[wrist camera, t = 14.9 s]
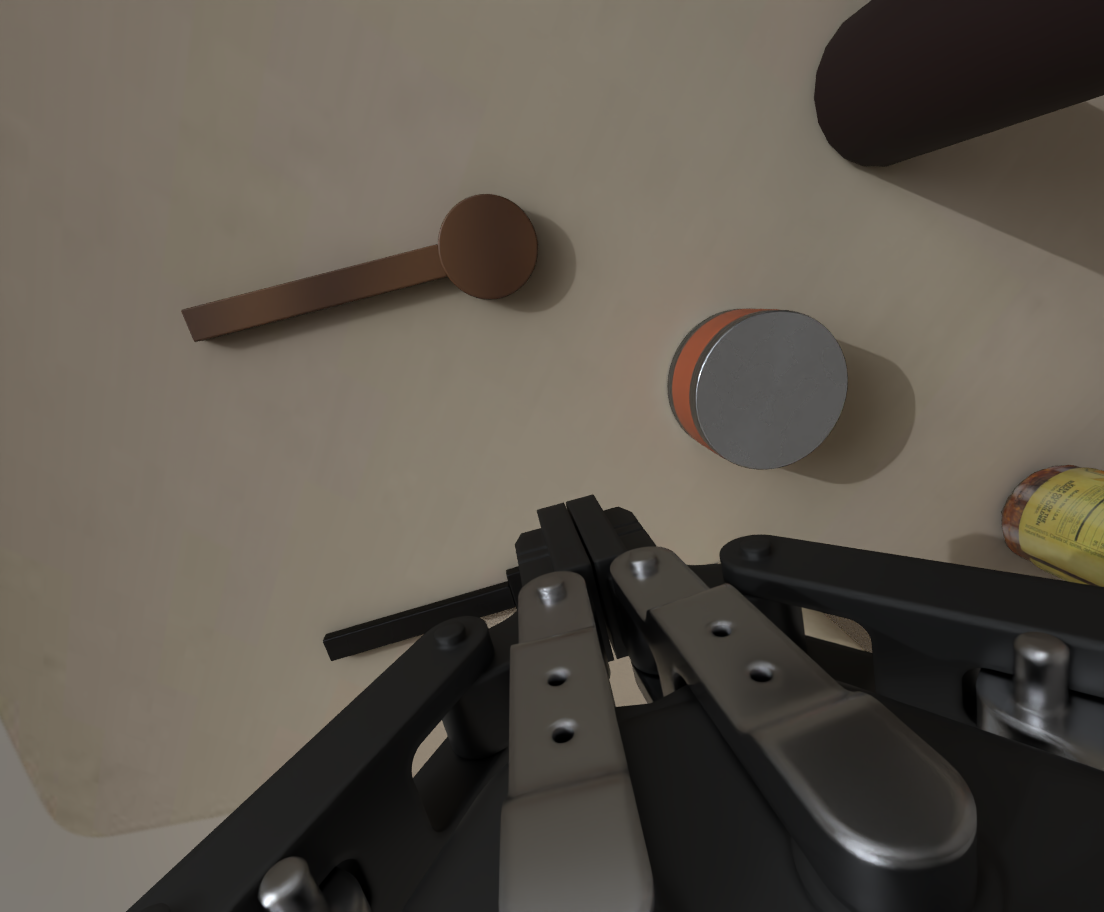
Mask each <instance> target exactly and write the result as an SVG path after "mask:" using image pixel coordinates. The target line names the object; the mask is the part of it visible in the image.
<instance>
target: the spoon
mask: <svg viewBox="0 0 1104 912" xmlns="http://www.w3.org/2000/svg"><path fill="white" fill-rule="evenodd" d="M537 255H538V242H537V237H536V233H535V230H534V227H533V225H532V223H531V221H530V219H529V218H528V216H527V215H526V214H525V212H524V211H523V210H522V209H521V208H520V207H519V206H517V205H516V204H515V203H513V202H512V201H510V200H508V199H506V198H504V197H501V196H497V195H492V194H480V195H474V196H471V197H468V198H466V199H464V200H462V201H461V202H459V203H458V204H456V205H455V206H454V207H453V208H452V209H451V210H450V211H449V213H448V214H447V216H446V217H445V219H444V221H443V223H442V225H441V228H440V232H439V237H438V245H437V244H436V245H432V246H428V247H424V248H420V249H417V250H413V251H409V252H405V253H401V254H397V255H393V256H389V257H385V258H382V259H378V260H374V261H370V262H366V263H362V264H358V265H354V266H350V267H347V268H343V269H339V270H335V271H331V272H327V273H323V274H319V275H315V276H311V277H308V278H304V279H300V280H296V281H292V282H288V283H284V284H280V285H276V286H273V287H269V288H265V289H261V290H257V291H253V292H249V293H245V294H241V295H238V296H234V297H230V298H226V299H222V300H218V301H214V302H210V303H206V304H203V305H199V306H195V307H191V308H187V309H183V310H181V312H182V314H183V316H184V319H185V321H186V323H187V326H188V328H189V331H190V333H191V335H192V338H193V340H194V341H195V342H197V341H203V340H207V339H211V338H215V337H219V336H223V335H226V334H230V333H234V332H238V331H242V330H246V329H249V328H253V327H257V326H261V325H265V324H269V323H272V322H276V321H280V320H284V319H288V318H292V317H295V316H299V315H303V314H307V313H311V312H315V311H319V310H322V309H326V308H330V307H334V306H338V305H342V304H345V303H349V302H353V301H357V300H361V299H365V298H368V297H372V296H376V295H380V294H384V293H388V292H391V291H395V290H399V289H403V288H407V287H411V286H415V285H418V284H422V283H426V282H430V281H434V280H438V279H441V278H445V277H447V276H448V277H449V279H450V280H451V281H452V282H453V283H454V284H455V285H456V286H457V287H458V288H459V289H460V290H462V291H463V292H465V293H467V294H469V295H471V296H473V297H476V298H481V299H498V298H503V297H506V296H508V295H510V294H512V293H514V292H516V291H517V290H519V289H520V288H521V287H522V286H523V285H524V284H525V283H526V282H527V280H528V279H529V277H530V276H531V274H532V272H533V270H534V267H535V264H536V261H537Z"/></svg>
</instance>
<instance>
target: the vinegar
mask: <svg viewBox="0 0 1104 912" xmlns="http://www.w3.org/2000/svg"><path fill="white" fill-rule="evenodd" d="M1102 95H1104V0H871V1H870V2H869V3H868V4H866V5H865V6H864V7H862V8H861V9H860V10H858V11H857V12H856V13H855V14H853V15H852V16H851V17H850V18H848V19H847V20H846V21H845V22H843V23H842V25H841V26H840V28H839V29H838V30H837V32H836V33H835V35H834V36H833V38H832V39H831V40H830V42H829V43H828V45H827V46H826V48H825V50H824V53H823V56H822V59H821V61H820V64H819V67H818V70H817V73H816V83H815V94H814V101H815V107H816V112H817V118H818V123H819V125H820V127H821V129H822V131H823V133H824V135H825V137H826V139H827V141H828V143H829V144H830V145H831V146H832V147H833V148H834V149H835V150H836V151H837V152H838V153H839V154H840V155H841V156H842V157H844V158H845V159H848V160H850V161H852V162H855V163H857V164H860V165H862V166H889V165H892V164H895V163H898V162H901V161H904V160H907V159H910V158H913V157H916V156H919V155H923V154H926V153H929V152H932V151H935V150H938V149H941V148H944V147H947V146H950V145H953V144H956V143H959V142H962V141H965V140H968V139H971V138H974V137H977V136H980V135H983V134H987V133H990V132H993V131H996V130H999V129H1002V128H1005V127H1008V126H1011V125H1014V124H1017V123H1020V122H1023V121H1026V120H1029V119H1032V118H1035V117H1038V116H1041V115H1044V114H1047V113H1051V112H1054V111H1057V110H1060V109H1063V108H1066V107H1069V106H1072V105H1075V104H1078V103H1081V102H1084V101H1087V100H1090V99H1093V98H1096V97H1099V96H1102Z"/></svg>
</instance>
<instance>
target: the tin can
mask: <svg viewBox="0 0 1104 912" xmlns="http://www.w3.org/2000/svg"><path fill="white" fill-rule="evenodd" d="M847 385H848V375H847V367H846V362H845V358H844V355H843V353H842V350H841V348H840V346H839V344H838V342H837V340H836V339H835V338H834V336H833V335H832V334H831V332H830V331H829V330H828V329H827V328H826V327H825V326H824V325H822V324H821V323H819V322H818V321H817V320H815V319H813V318H811V317H809V316H808V315H805V314H802V313H799V312H795V311H789V310H777V309H733V310H727V311H723V312H720V313H718V314H715V315H713V316H711V317H709V318H707V319H705V320H704V321H702V322H701V323H700V324H698V325H697V326H696V327H695V328H693V329H692V330H691V331H690V332H689V333H688V335H687V336H686V337H685V338H684V339H683V341H682V342H681V344H680V345H679V347H678V349H677V351H676V353H675V355H674V357H673V360H672V363H671V365H670V370H669V374H668V385H667V386H668V398H669V403H670V406H671V409H672V412H673V414H674V416H675V419H676V420H677V422H678V423H679V425H680V426H681V428H682V429H683V430H684V431H685V432H686V433H687V434H688V435H689V436H691V437H692V438H693V439H695V440H696V441H697V442H699V443H700V444H702V445H703V446H705V447H706V448H708V449H710V450H711V451H713V452H714V453H716V454H718V455H719V456H721V457H722V458H724V459H726V460H728V461H730V462H731V463H734V464H736V465H738V466H741V467H745V468H749V469H757V470H763V469H774V468H779V467H783V466H787V465H789V464H792V463H794V462H796V461H798V460H800V459H802V458H804V457H805V456H807V455H808V454H810V453H811V452H812V451H814V450H815V449H816V448H817V447H818V446H819V445H820V444H821V443H822V442H823V441H824V440H825V439H826V438H827V437H828V435H829V434H830V432H831V431H832V430H833V428H834V426H835V425H836V423H837V421H838V419H839V417H840V415H841V412H842V410H843V407H844V403H845V400H846V394H847Z"/></svg>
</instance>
